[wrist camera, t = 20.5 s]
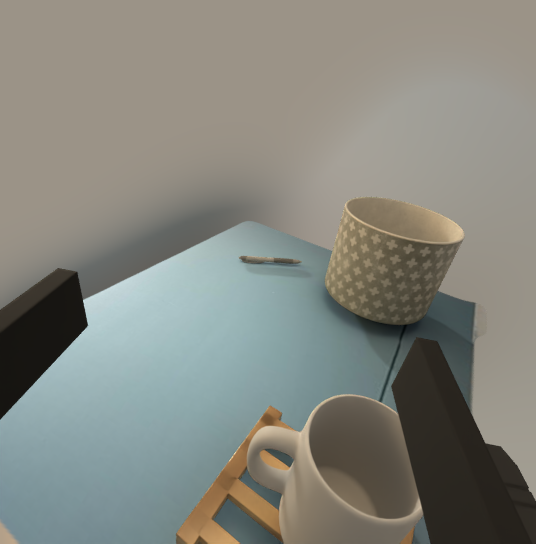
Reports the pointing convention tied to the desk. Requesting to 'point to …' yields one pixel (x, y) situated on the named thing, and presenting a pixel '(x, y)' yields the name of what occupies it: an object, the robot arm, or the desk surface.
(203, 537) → the rack
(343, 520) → the mug
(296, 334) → the desk surface
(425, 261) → the planter
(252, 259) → the pen
